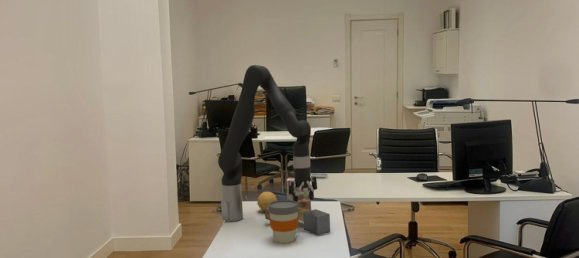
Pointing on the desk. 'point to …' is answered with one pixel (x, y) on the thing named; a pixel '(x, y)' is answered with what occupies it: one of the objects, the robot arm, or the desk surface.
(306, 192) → the candy bar box
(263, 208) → the stress ball
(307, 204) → the walnut block
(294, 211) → the reusable coffee cup
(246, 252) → the desk surface
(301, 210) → the brass bar
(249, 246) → the desk surface
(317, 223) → the grey sleeve
